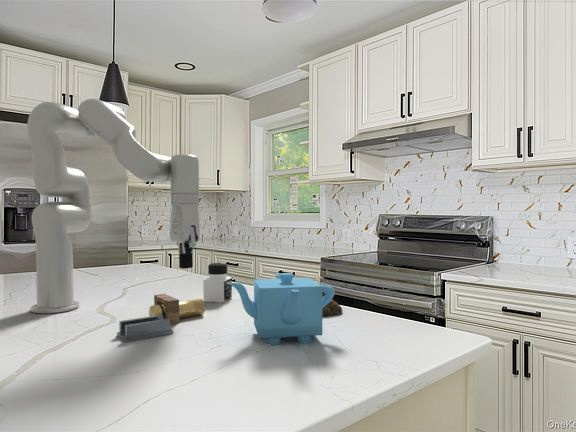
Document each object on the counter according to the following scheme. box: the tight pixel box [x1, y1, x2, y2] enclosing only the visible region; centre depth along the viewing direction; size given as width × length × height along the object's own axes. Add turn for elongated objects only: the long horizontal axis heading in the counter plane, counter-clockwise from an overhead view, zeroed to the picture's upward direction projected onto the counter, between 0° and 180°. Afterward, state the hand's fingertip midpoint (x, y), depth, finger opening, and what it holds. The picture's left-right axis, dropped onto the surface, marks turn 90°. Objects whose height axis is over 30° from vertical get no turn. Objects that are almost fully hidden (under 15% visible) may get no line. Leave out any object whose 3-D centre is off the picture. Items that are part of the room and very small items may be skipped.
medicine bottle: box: [203, 262, 233, 304], centre depth 139 cm, size 7×7×12 cm
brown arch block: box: [153, 293, 180, 326], centre depth 114 cm, size 10×3×6 cm, turn 37°
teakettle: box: [227, 272, 336, 346], centre depth 99 cm, size 19×19×15 cm
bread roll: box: [322, 294, 343, 318], centre depth 124 cm, size 13×12×5 cm
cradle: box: [116, 315, 174, 343], centre depth 101 cm, size 6×11×3 cm, turn 127°
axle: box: [148, 298, 206, 319], centre depth 116 cm, size 14×4×4 cm, turn 129°
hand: (186, 267), depth 117 cm, fingers closed
